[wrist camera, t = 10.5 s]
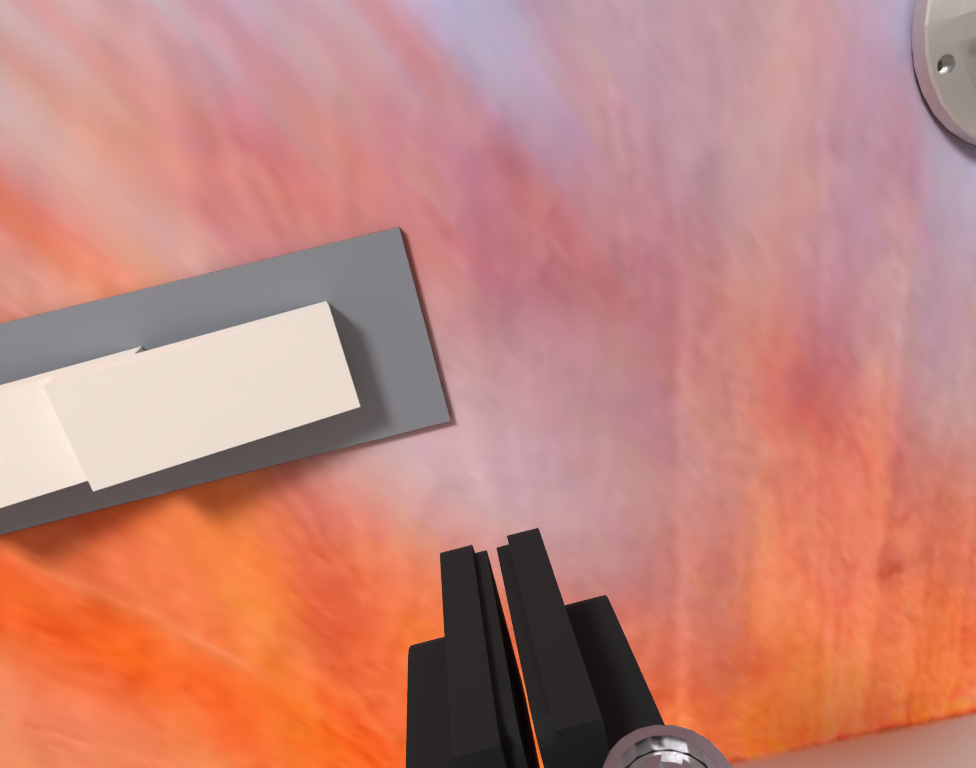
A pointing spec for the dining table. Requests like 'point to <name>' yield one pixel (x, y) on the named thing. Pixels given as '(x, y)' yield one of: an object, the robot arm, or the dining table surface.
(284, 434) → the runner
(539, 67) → the dining table surface
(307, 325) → the domino
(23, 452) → the domino
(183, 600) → the dining table surface
